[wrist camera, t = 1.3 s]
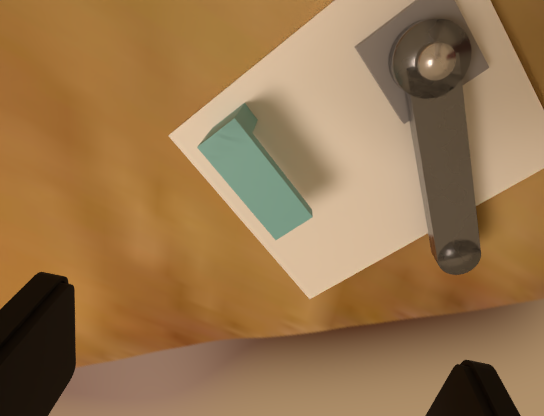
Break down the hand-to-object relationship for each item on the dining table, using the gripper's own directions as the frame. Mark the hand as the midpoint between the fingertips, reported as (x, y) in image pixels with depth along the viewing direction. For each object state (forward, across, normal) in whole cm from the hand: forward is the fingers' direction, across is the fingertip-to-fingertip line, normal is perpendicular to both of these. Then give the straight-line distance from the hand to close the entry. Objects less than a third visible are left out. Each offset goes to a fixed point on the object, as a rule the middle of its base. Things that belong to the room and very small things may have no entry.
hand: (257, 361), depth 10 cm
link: (+20, -11, -1) cm, 22 cm away
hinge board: (+22, -6, 0) cm, 23 cm away
